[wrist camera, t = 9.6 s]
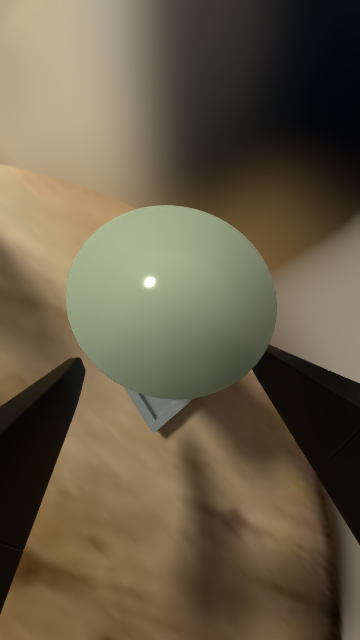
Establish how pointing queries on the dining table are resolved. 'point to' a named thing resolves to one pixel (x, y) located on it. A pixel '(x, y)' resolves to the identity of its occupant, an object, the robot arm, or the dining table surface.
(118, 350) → the sage green mushroom knob
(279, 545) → the dining table surface
